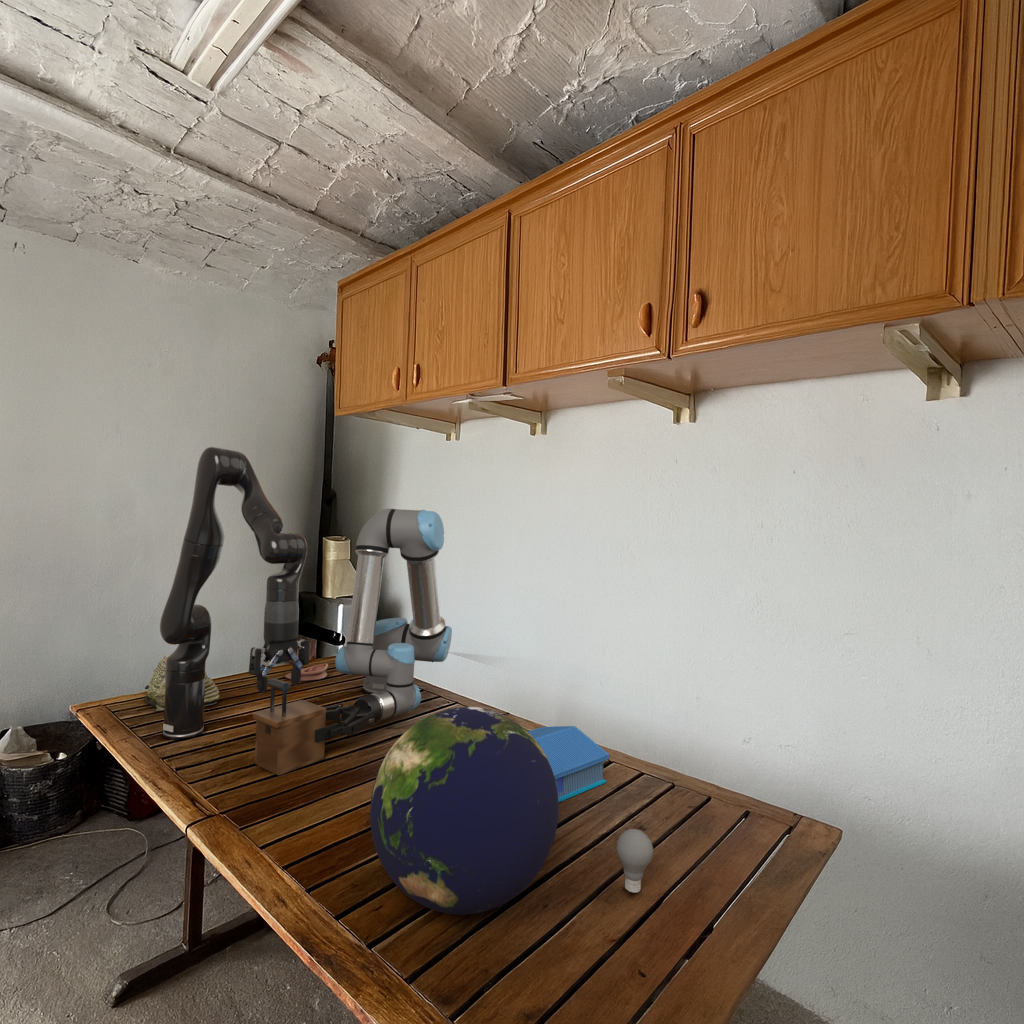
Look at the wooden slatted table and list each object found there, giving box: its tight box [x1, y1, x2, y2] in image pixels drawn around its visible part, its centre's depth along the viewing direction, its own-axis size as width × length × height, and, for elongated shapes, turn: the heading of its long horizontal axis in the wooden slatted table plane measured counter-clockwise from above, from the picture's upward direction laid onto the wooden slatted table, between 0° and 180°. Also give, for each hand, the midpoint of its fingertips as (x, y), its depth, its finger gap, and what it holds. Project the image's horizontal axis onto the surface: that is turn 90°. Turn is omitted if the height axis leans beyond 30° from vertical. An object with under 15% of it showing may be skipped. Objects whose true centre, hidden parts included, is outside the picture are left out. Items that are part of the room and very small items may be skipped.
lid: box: [252, 677, 326, 728], centre depth 150 cm, size 13×10×9 cm
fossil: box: [146, 654, 221, 712], centre depth 185 cm, size 9×18×15 cm, turn 132°
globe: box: [369, 706, 560, 916], centre depth 102 cm, size 30×30×30 cm
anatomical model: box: [284, 662, 329, 682], centre depth 220 cm, size 13×4×12 cm
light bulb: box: [615, 828, 654, 894], centre depth 106 cm, size 6×6×10 cm
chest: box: [254, 714, 327, 776], centre depth 150 cm, size 12×10×11 cm
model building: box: [526, 725, 610, 803], centre depth 140 cm, size 39×24×10 cm, turn 132°
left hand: (279, 688), depth 147 cm, fingers open, 8 cm apart
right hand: (302, 730), depth 153 cm, fingers closed on chest, 9 cm apart
